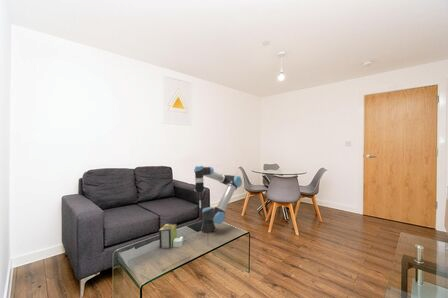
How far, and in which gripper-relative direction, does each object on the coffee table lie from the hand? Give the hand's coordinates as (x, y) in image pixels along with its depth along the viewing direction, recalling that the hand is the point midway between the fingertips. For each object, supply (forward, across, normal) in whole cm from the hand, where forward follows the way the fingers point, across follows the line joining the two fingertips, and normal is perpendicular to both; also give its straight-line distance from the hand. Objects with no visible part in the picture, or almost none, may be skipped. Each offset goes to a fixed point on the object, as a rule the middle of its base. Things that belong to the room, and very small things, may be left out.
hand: (200, 207), depth 192 cm
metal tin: (+30, -18, +1) cm, 35 cm away
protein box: (+30, -29, -4) cm, 42 cm away
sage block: (+30, -20, -8) cm, 37 cm away
